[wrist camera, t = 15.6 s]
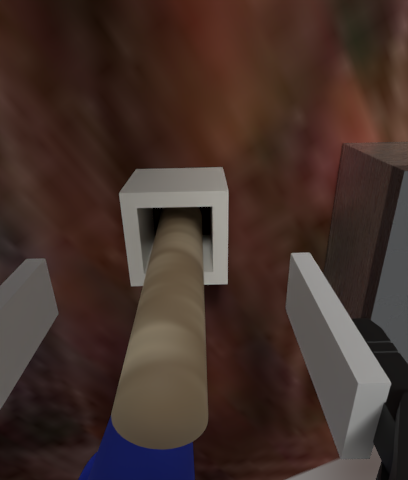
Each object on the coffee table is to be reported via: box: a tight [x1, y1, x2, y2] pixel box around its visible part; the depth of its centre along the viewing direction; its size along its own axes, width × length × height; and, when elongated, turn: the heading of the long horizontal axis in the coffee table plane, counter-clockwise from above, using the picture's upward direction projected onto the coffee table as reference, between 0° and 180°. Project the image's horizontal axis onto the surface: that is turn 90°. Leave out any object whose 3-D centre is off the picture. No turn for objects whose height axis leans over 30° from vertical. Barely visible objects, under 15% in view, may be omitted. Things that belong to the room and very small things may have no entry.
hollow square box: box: [119, 167, 228, 286], centre depth 20 cm, size 5×5×5 cm
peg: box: [111, 207, 208, 449], centre depth 16 cm, size 3×3×15 cm
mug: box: [78, 416, 195, 480], centre depth 27 cm, size 8×12×10 cm
